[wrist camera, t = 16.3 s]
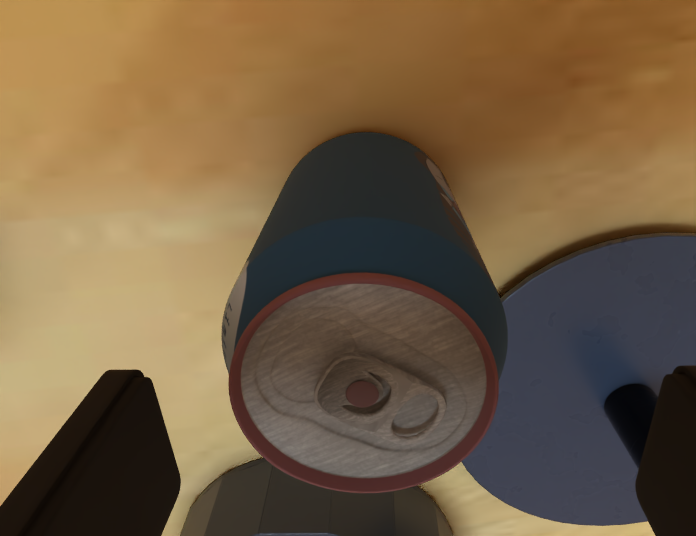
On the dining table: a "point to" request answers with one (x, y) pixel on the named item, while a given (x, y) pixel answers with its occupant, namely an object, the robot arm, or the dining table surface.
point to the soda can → (364, 323)
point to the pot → (306, 508)
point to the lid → (588, 377)
